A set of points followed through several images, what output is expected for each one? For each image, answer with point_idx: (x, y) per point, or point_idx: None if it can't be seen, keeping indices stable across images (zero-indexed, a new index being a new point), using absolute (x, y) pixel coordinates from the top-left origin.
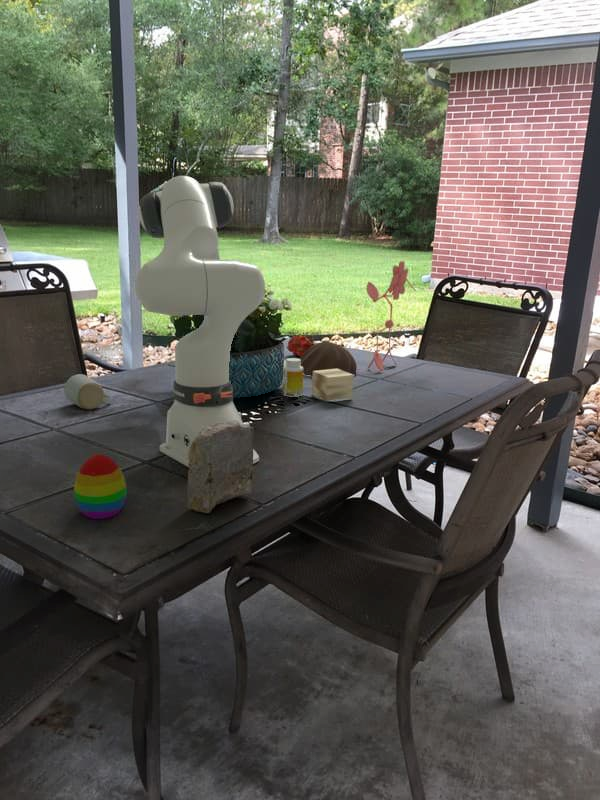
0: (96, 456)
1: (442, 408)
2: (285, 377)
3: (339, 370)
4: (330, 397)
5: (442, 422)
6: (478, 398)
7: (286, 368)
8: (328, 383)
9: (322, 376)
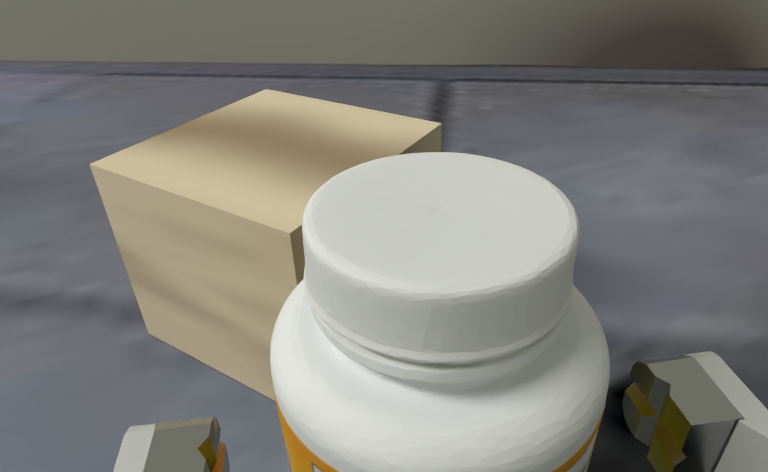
0: None
1: (253, 84)
2: (716, 356)
3: (165, 142)
4: None
5: (397, 67)
6: (95, 69)
7: (603, 345)
8: None
9: None
